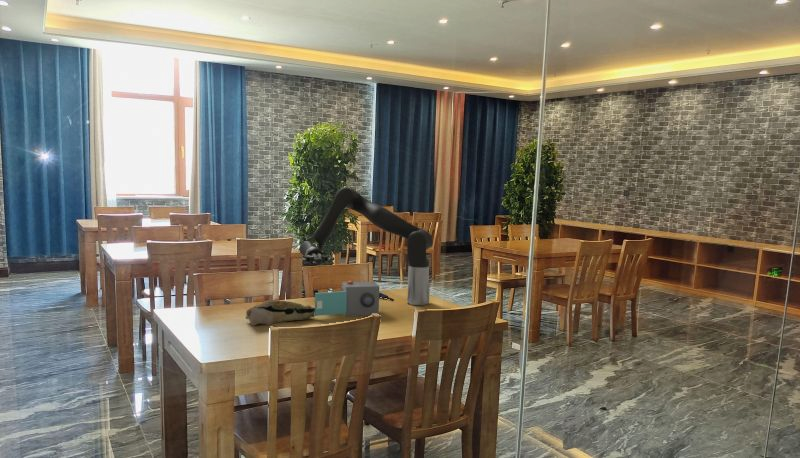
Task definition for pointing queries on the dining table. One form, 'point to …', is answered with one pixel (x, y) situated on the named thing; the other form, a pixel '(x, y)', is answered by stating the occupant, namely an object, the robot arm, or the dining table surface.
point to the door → (330, 303)
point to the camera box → (361, 298)
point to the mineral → (278, 312)
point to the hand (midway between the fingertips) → (318, 261)
